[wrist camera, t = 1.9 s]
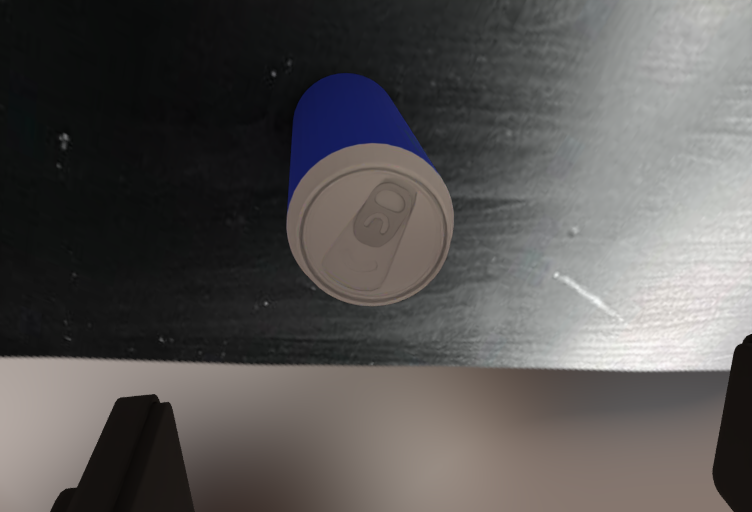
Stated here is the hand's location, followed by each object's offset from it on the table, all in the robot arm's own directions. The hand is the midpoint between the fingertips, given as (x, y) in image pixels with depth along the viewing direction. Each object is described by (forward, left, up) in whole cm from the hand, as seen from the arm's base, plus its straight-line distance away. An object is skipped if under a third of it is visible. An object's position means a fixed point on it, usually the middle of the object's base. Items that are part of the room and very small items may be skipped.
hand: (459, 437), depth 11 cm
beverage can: (-1, 0, -25) cm, 25 cm away
